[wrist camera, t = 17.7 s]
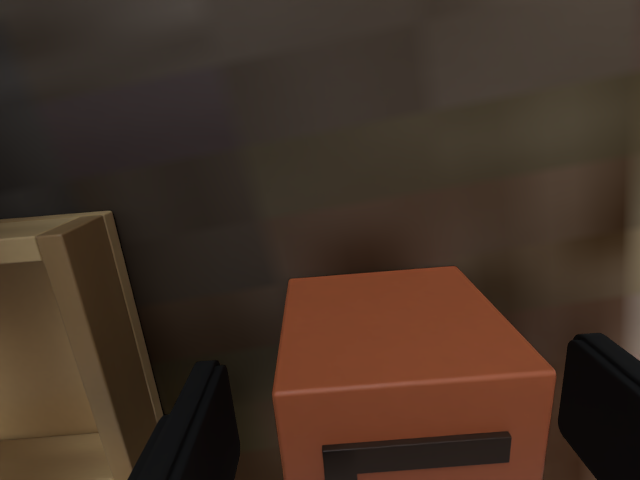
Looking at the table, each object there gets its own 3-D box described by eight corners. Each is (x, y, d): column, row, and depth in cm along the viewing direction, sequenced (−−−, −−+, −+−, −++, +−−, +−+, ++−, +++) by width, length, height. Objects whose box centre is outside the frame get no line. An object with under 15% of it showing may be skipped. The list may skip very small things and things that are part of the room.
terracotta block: (303, 413, 13) (297, 595, 8) (288, 277, 11) (269, 399, 6) (451, 402, 13) (536, 577, 8) (456, 264, 11) (565, 377, 6)
